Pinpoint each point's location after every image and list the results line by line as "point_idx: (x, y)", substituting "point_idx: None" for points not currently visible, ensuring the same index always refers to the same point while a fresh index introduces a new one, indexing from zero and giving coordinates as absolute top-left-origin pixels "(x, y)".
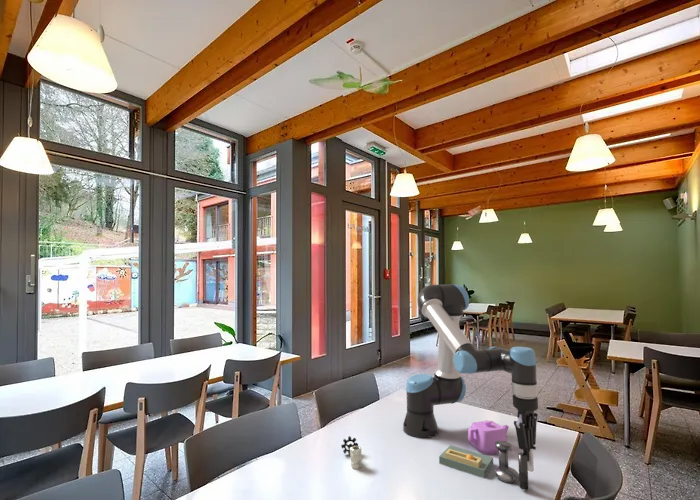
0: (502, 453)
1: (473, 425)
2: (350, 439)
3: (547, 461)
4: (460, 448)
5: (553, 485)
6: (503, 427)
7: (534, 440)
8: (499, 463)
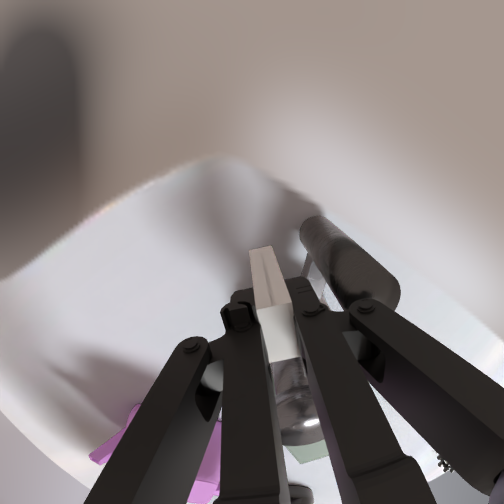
0: None
1: (210, 499)
2: (451, 468)
3: (56, 308)
4: (294, 451)
5: (164, 195)
6: (105, 460)
7: (193, 363)
8: None
